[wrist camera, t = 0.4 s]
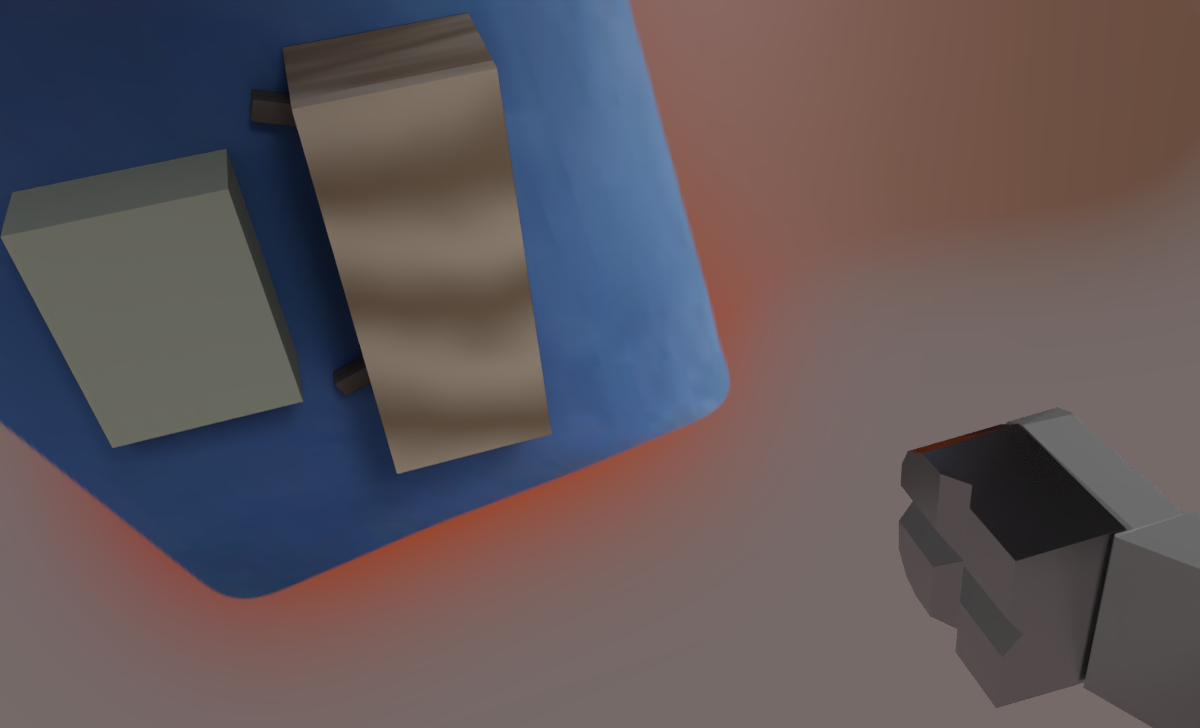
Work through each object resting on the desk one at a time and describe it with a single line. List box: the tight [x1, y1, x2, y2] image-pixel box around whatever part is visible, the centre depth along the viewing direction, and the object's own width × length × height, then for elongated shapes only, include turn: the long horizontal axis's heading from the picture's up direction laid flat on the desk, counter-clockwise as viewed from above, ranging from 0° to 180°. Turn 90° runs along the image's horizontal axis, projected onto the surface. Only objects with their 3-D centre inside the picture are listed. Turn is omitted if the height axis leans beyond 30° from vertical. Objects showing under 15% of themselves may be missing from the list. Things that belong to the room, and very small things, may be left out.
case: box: [0, 149, 303, 448], centre depth 49 cm, size 12×9×4 cm
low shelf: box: [250, 13, 551, 474], centre depth 50 cm, size 20×10×6 cm, turn 5°
